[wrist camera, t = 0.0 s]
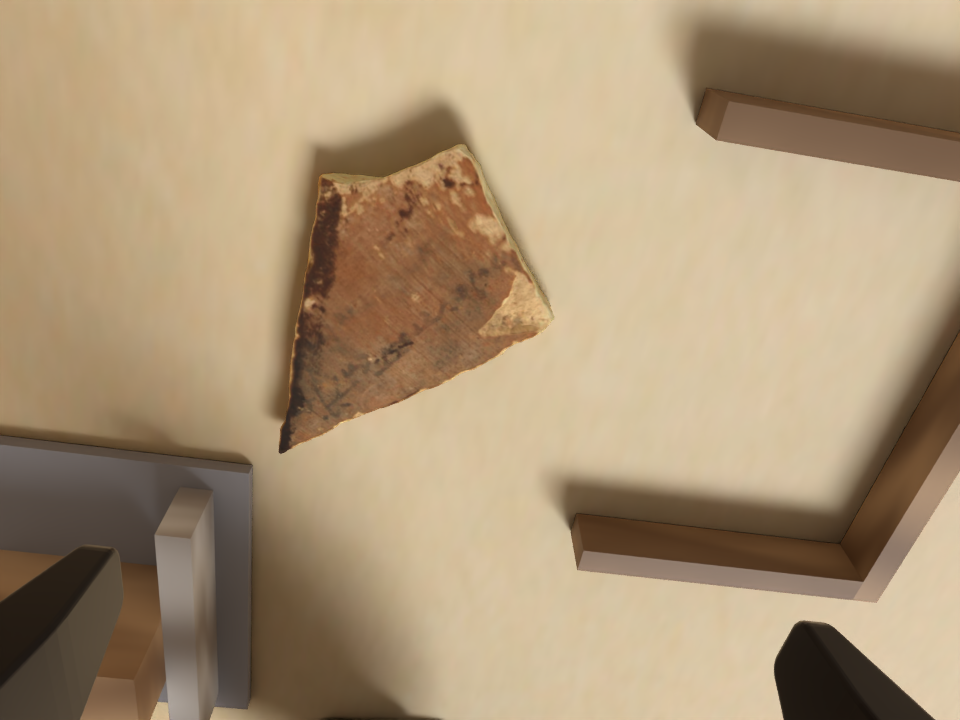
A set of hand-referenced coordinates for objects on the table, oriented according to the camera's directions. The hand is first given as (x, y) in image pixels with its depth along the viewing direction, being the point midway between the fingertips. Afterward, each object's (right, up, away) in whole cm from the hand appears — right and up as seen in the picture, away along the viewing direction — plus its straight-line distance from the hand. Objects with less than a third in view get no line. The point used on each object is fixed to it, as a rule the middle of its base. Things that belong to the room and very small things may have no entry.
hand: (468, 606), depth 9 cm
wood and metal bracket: (-15, -6, +20) cm, 26 cm away
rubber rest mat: (-15, -6, +20) cm, 26 cm away
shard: (-2, +5, +15) cm, 16 cm away
